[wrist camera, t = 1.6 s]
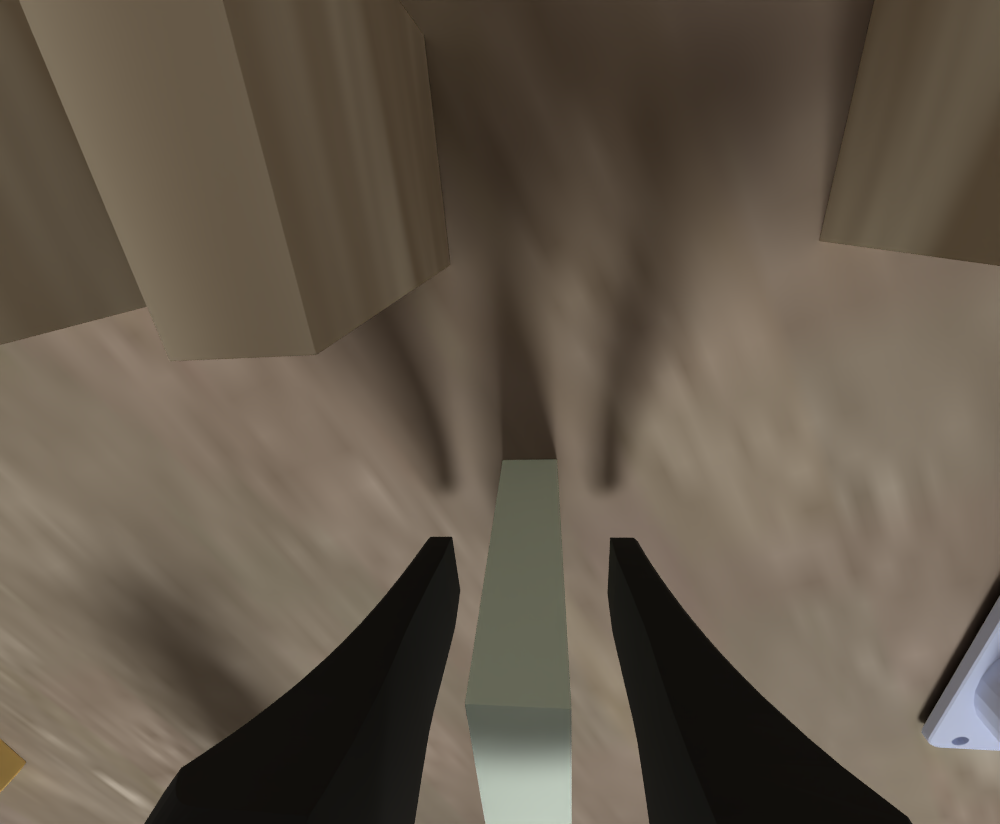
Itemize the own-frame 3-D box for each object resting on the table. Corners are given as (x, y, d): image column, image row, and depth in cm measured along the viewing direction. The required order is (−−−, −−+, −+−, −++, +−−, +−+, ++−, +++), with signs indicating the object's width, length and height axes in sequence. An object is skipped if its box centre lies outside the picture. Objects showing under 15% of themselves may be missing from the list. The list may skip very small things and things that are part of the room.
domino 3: (556, 459, 13) (571, 708, 6) (558, 571, 15) (571, 849, 8) (502, 460, 13) (465, 703, 7) (511, 570, 15) (489, 842, 8)
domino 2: (423, 36, 9) (118, -398, 2) (450, 264, 11) (316, 355, 4) (347, 45, 9) (-124, -340, 3) (387, 269, 11) (169, 360, 4)
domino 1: (196, 63, 9) (-538, -230, 3) (259, 277, 11) (-109, 373, 5) (128, 72, 9) (-701, -190, 3) (201, 280, 11) (-224, 378, 5)
